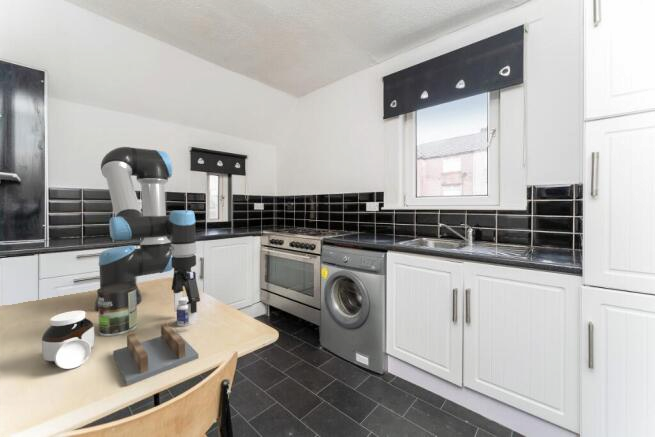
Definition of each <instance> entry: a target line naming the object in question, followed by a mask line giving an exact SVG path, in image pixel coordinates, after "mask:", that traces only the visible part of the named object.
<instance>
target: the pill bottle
mask: <svg viewBox="0 0 655 437" xmlns="http://www.w3.org/2000/svg"><path fill="white" fill-rule="evenodd" d="M187 302H189V301H188V297H187V296H183V297H182V298H179V305H178V306H177V312H176V325H177V327H187V326H190V325H192V324H193V323H194V322H192V323H188V304H187Z"/></svg>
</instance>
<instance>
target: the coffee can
mask: <svg viewBox="0 0 655 437" xmlns="http://www.w3.org/2000/svg"><path fill="white" fill-rule="evenodd" d="M136 284H137V283H136ZM136 284H134V283H119V284H112V285H108V286H104V287H102V288H100V287H99V288H98V289H97V290H96V291H97V297H98V309H99V311H98V329H99V332H98V334H99V335H100V336H102V337H103V336H104V337H114V336H118V335H123V334H128V333H129V332H131V331H133V330H135V329H136V328H137V327H138V312H137V310H138V309H137V308H138V306H137V305H138V304H137V302H136V287H138V285H136Z"/></svg>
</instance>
